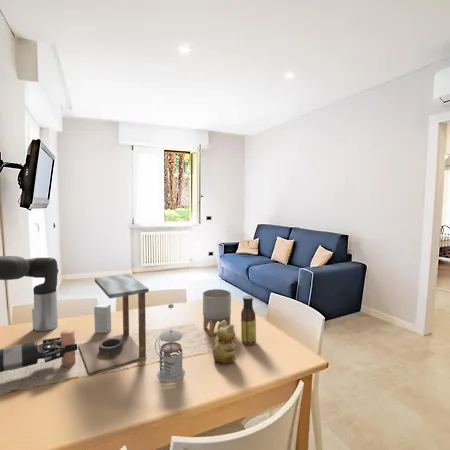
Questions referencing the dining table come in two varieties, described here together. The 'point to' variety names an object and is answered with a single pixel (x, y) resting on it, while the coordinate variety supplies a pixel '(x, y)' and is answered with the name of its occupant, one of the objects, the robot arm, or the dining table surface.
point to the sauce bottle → (248, 322)
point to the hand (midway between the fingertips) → (75, 343)
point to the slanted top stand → (123, 344)
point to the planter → (216, 308)
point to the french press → (170, 356)
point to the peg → (66, 339)
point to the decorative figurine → (224, 343)
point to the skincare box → (102, 318)
